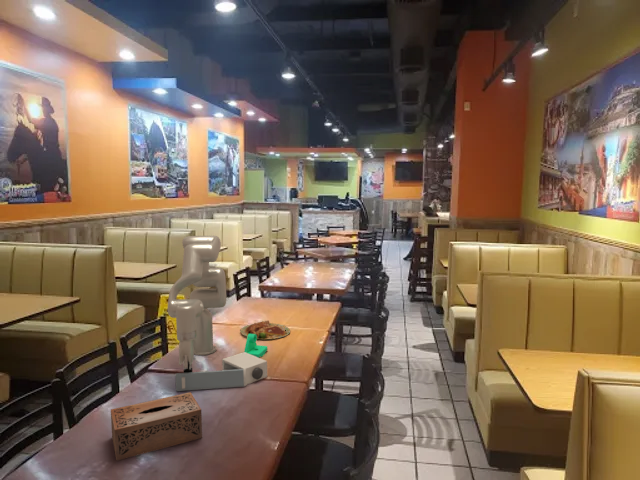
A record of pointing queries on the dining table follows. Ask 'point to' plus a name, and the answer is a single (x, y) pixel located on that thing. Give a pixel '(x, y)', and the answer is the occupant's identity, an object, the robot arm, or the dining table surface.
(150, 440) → the tissue box cover
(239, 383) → the side door
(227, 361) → the block
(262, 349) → the camera mount
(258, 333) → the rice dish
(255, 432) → the dining table surface
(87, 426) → the dining table surface
